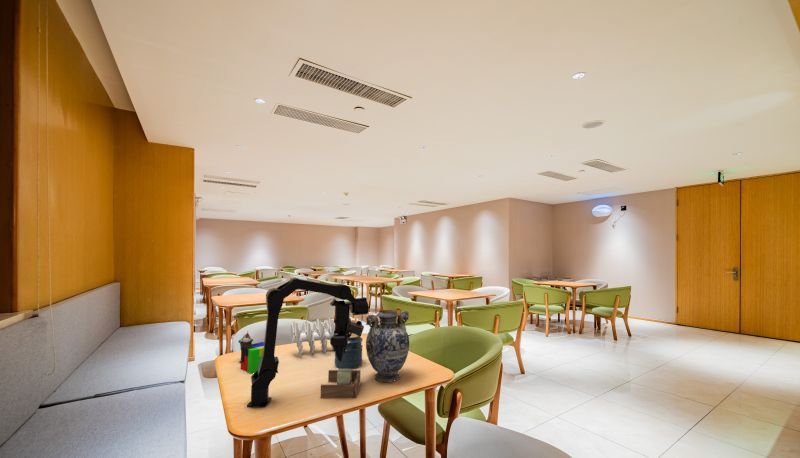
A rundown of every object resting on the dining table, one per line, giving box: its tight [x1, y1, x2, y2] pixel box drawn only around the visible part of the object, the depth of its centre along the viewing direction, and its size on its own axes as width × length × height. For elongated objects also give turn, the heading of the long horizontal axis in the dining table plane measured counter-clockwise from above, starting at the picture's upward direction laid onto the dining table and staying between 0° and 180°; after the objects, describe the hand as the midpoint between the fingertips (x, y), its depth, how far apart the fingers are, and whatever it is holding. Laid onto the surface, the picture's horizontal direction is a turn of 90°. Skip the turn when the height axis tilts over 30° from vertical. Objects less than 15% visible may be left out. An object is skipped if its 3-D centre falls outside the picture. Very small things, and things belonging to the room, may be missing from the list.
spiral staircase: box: [289, 317, 335, 357], centre depth 177 cm, size 18×18×25 cm
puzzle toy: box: [240, 341, 264, 375], centre depth 153 cm, size 10×10×10 cm
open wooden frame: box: [319, 369, 361, 399], centre depth 131 cm, size 16×13×4 cm
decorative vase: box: [365, 309, 410, 383], centre depth 144 cm, size 21×19×28 cm
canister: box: [334, 333, 363, 370], centre depth 159 cm, size 13×13×18 cm
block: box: [336, 368, 353, 385], centre depth 131 cm, size 5×5×7 cm
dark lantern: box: [238, 332, 254, 364], centre depth 162 cm, size 7×7×15 cm
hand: (341, 356), depth 132 cm, fingers open, 9 cm apart
